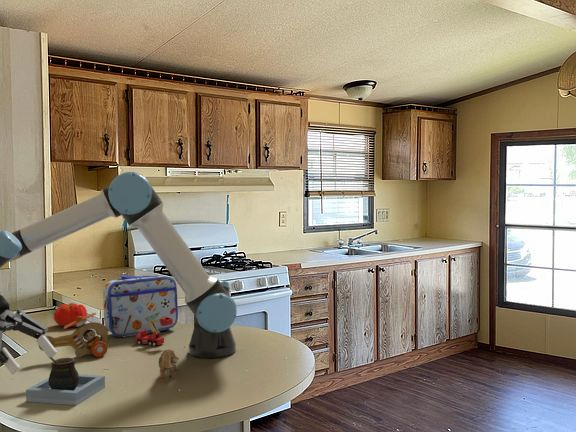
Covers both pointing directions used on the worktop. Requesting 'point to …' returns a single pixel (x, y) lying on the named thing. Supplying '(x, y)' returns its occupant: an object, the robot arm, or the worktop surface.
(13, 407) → the worktop surface
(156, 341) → the toy fire truck
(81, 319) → the toy helicopter
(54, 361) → the mate gourd
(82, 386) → the tray
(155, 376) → the worktop surface
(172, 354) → the lion figurine
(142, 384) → the worktop surface
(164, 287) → the lunch box
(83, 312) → the tomato
